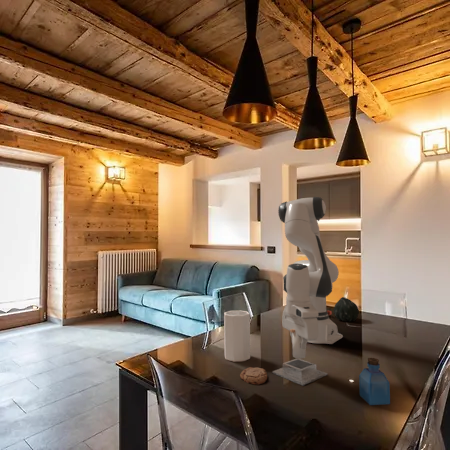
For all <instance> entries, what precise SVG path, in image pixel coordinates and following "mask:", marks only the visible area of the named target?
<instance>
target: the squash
mask: <svg viewBox="0 0 450 450" xmlns="http://www.w3.org/2000/svg"><path fill="white" fill-rule="evenodd" d="M333 314H334V316H335V318H336V319H337V320H338V321H341V320H342V321H343V322H346V321H347V322H348V321H349V322H355V321H356V320H357V319H358V316H359V314H360V311H359V307H358V305H357V304H356V303H355V302H354V301H353V300H351V299H349V298H347V297H344V296H341V297H340V298H339V300H337V302H336V303H335V304H334V306H333Z"/></svg>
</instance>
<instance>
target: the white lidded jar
mask: <svg viewBox="0 0 450 450" xmlns="http://www.w3.org/2000/svg"><path fill="white" fill-rule="evenodd" d="M290 332H292V338H291V342H292V341H293V343H292V357H293V358H295V359H297V358H299V359H305V358H306V349H301V348H300V343H301V342H302V340H301V336H299V335H297V334H296V332H295V330H294V329H290V331H289V333H290Z"/></svg>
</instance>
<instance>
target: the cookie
mask: <svg viewBox="0 0 450 450" xmlns="http://www.w3.org/2000/svg"><path fill="white" fill-rule="evenodd" d="M239 377H240V379H241V380H243V382H245V383H247V384H251V385H262V384H264V383H266V381H267V380H268V373H267V371H266V369H264V368H260V367H252V366H250V367H247V368H245V369H243V370H242V371H241V372H240V374H239Z"/></svg>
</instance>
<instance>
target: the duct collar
mask: <svg viewBox="0 0 450 450" xmlns="http://www.w3.org/2000/svg"><path fill="white" fill-rule="evenodd" d="M272 374H274V375H276V376H279V377H281V378H283V379H286V380H287V381H291V382H293V383H295V384H298V385H301V386H303V387H304V386H306V385H307V384H310V383H313V382H315V381H317V380H319V379H322V378H324V377H326V376H328V372H325V371H322V370H319V369H317V364H316V363H312V362H310V361H307V360H304V359H303V358H295V359H291V360H289V361H285V362H283V363H282V367H281V368H278V369H275V370H272Z"/></svg>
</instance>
